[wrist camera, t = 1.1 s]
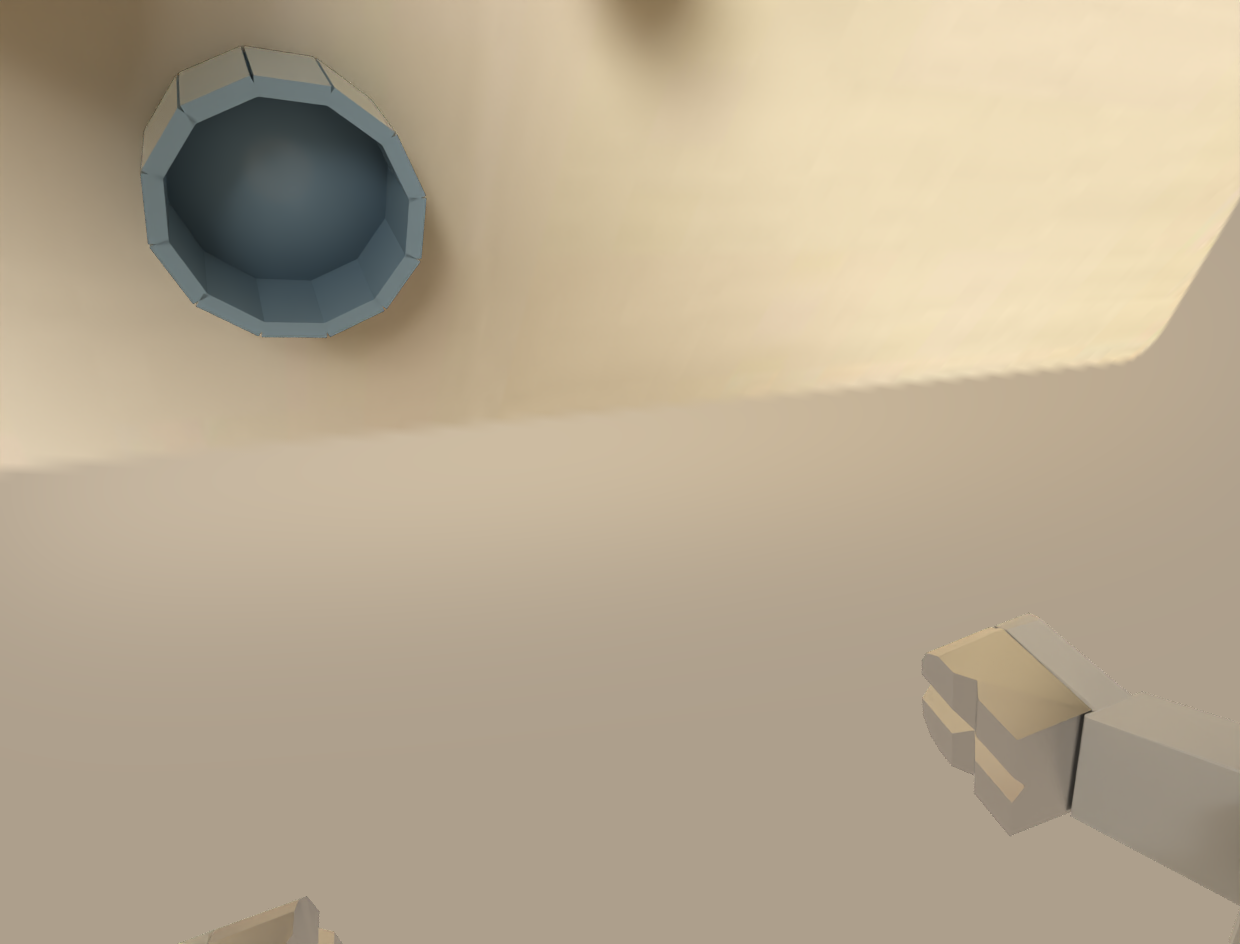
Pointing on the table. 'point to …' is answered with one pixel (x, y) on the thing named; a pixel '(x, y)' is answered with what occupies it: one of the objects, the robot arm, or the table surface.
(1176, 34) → the table surface
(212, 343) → the table surface
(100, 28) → the table surface
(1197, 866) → the robot arm
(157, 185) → the bowl
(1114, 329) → the table surface
